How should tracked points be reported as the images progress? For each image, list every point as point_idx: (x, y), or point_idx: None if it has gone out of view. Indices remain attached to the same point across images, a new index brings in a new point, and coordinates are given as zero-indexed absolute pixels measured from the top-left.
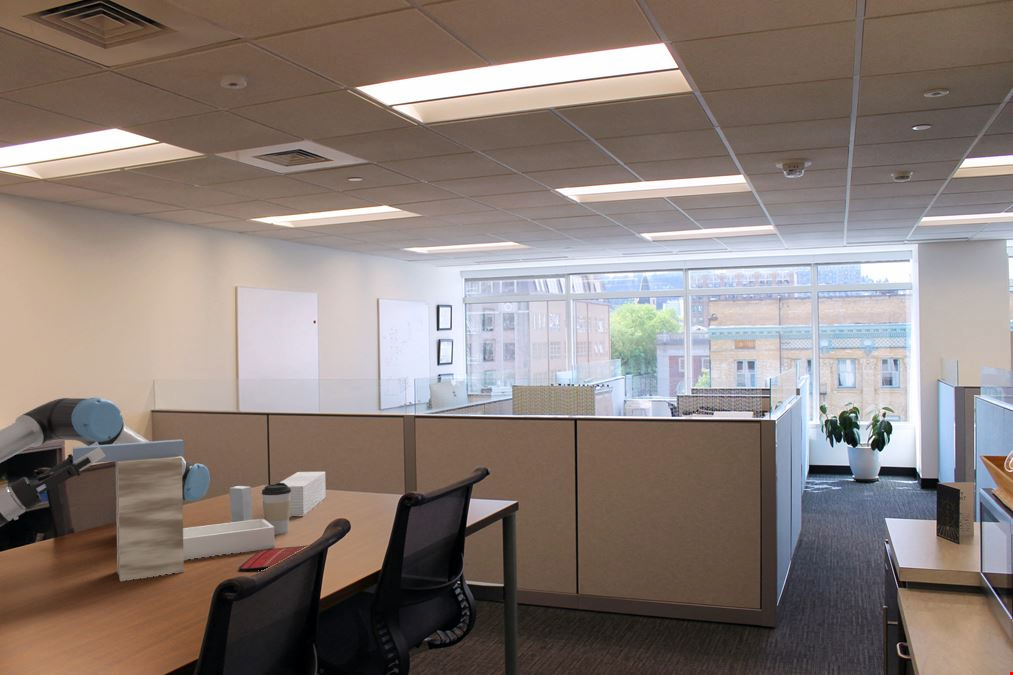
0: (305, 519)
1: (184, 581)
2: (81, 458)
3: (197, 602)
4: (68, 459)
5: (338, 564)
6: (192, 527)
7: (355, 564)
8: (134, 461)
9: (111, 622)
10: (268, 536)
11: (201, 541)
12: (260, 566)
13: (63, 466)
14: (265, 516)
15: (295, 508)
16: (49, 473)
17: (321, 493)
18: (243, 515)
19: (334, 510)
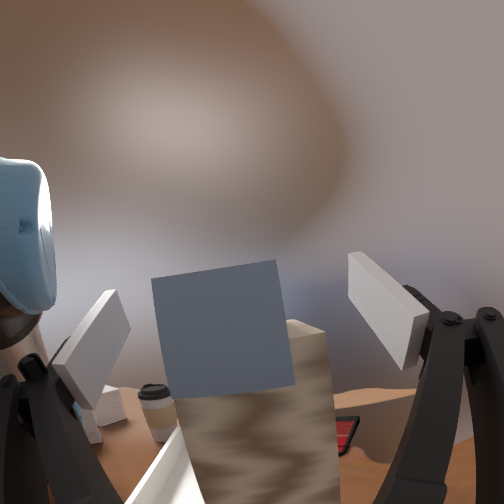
0: (138, 419)
1: (376, 489)
2: (405, 292)
3: (472, 440)
4: (53, 390)
5: (346, 405)
6: (150, 468)
7: (350, 399)
8: (313, 327)
9: None
10: None
11: None
12: (344, 438)
13: (79, 446)
14: (160, 424)
15: (117, 412)
16: (433, 492)
17: None
18: (98, 433)
19: (130, 406)
